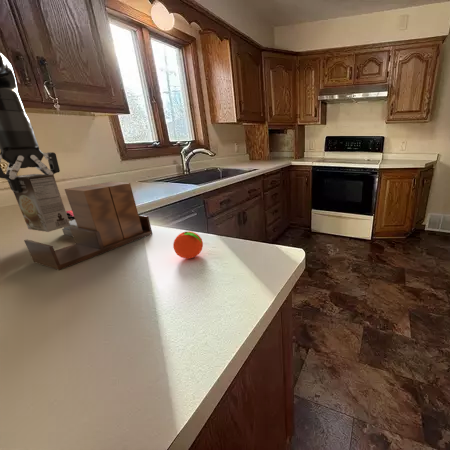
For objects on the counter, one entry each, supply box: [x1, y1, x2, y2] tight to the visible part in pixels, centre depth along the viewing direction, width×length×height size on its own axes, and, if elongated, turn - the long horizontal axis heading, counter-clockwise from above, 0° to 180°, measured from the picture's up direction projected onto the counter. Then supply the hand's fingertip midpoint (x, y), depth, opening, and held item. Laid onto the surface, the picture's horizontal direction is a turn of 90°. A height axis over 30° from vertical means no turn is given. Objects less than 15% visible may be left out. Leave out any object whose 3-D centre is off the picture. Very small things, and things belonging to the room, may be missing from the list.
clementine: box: [172, 230, 204, 259], centre depth 62 cm, size 8×7×7 cm
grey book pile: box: [61, 219, 78, 237], centre depth 83 cm, size 8×11×4 cm
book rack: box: [23, 181, 153, 271], centre depth 69 cm, size 25×12×17 cm, turn 157°
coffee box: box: [12, 173, 70, 233], centre depth 73 cm, size 9×6×16 cm
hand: (35, 190), depth 72 cm, fingers closed on coffee box, 6 cm apart
